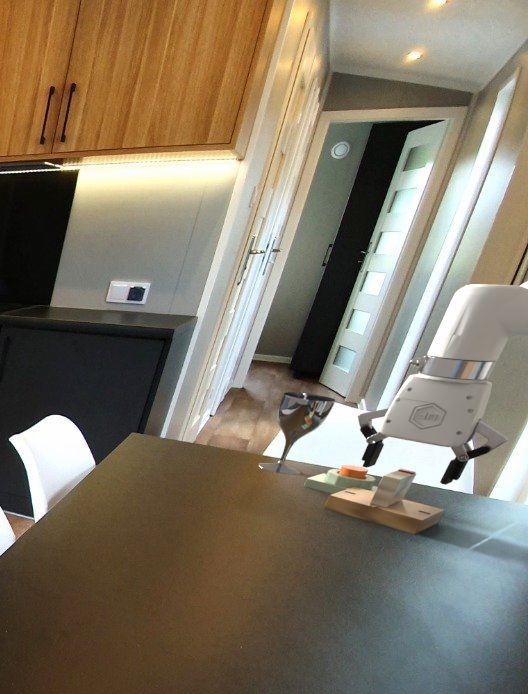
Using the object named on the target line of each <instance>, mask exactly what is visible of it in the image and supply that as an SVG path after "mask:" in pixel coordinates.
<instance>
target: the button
mask: <svg viewBox="0 0 528 694" xmlns="http://www.w3.org/2000/svg"><path fill="white" fill-rule="evenodd" d="M340 469H341V470H340V472H339V474H341V475H343V476H347V477H351V478H358V479H364V478H365V476H366V474H367V475H368V472H369V470H368V469H367V468H366V467H363V466H358V465H351V464H343V465H342V466H341V468H340Z"/></svg>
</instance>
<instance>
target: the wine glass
mask: <svg viewBox="0 0 528 694" xmlns="http://www.w3.org/2000/svg"><path fill="white" fill-rule="evenodd" d="M336 401H337V400H336V399H335V398H333V397H329V396H324V395H322V394H321V395H319V394H314V393H308V392H298V391H297V392H295V391H294V392H292V391H288V392H284V393H283V395H282V398H281V399H280V403H279V405H278V409H277V416H276V418H277V419H276V421H277V423H278V426H279V428H280V430H281V431H282V433H283V436H284V439H285V442H284V448H283V450H282V454H281V456H280V458H279V460H278V461H277V462H259V463H258V464H257V467H259V468H261V469H263V470H266V471H269V472H272V473H273V472H274V473H278V474H284V475H300V474H301V470H299V469H297V468H296V467H295V468H294V467H292V466H290V465H289V466H288V465H287V464H286V463H285V462H286V459H287V457H288V454H289V453H290V451H291V448H292V447H293V446H294V444H296V442H297V441H298V440H300V439H301V438H304V437H306V436H307V435H309V434H311V433H312V432H314V431H316V430H318V429H319V428H320V427H322V425H323V424H324V422H325V421H326V420H327V418H328V417H329V415H330V414H331V411H332V410H333V408H334V406H335V403H336Z"/></svg>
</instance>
